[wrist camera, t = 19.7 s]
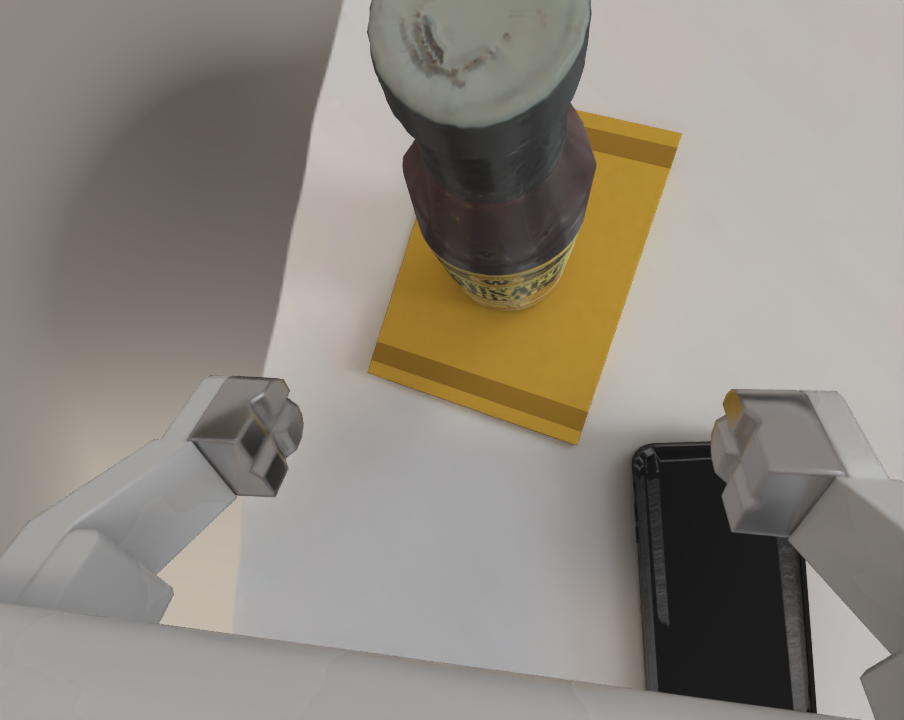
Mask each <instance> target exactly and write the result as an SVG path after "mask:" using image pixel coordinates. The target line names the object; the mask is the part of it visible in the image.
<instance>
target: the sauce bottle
mask: <svg viewBox="0 0 904 720" xmlns="http://www.w3.org/2000/svg"><path fill="white" fill-rule="evenodd" d="M590 20H591V0H372V2H371V5H370V17H369V24H368V31H367V33H368V37H369V42H370V52H371V58H372V62H373V66H374V70H375V73H376V75H377V77H378V80H379V82H380V84H381V86H382V89H383V91H384V94H385V97H386V100H387V102H388V104H389V106H390V108H391V110H392V112H393V114H394V116H395V117H396V118H397V119H398V120H399V121H400V122H401V124H402V125H403V127H404V128H405V129H406V131H407V132H408V133H409V134H410V135H411V136H412V137H414V138H415V140H414V142H413V144H412V145H411V146H410V148H409V149H408V151H407V152H406V153H405V155H404V157H403V173H404V177H405V180H406V184H407V187H408V190H409V194H410V197H411V200H412V204H413V207H414V211H415V214H416V218H417V221H418V224H419V228H420V231H421V233H422V236H423V238H424V240H425V241H426V243H427V244H428V246H429V247H430V249H431V250H432V252H433V253H434V254H435V256H436V257H437V258H438V260H439V261H440V262H441V264H442V265H443V266H444V268H445V269H446V270H447V272H448V273H449V274H450V276H452V278H453V279H454V280H455V281H456V282H457V284H458V285H459V286H460V288H461V289H462V290H463V292H464V293H465V294H466V295H467V296H469V297H470V298H471V299H472V300H474V301H475V302H477V303H478V304H480V305H482V306H484V307H487V308H490V309H494V310H500V311H515V310H521V309H524V308H528V307H531V306H533V305H535V304H536V303H538V302H539V301H541V300H542V299H544V298H545V297H546V296H547V295H548V294H549V293H550V292H551V291H552V290H553V289H554V288H555V286H556V285H557V284H558V282H559V280H560V278H561V276H562V274H563V271H564V269H565V266H566V263H567V261H568V258H569V256H570V254H571V251H572V249H573V246H574V244H575V241H576V238H577V236H578V233H579V231H580V229H581V226H582V224H583V221H584V216H585V212H586V208H587V204H588V200H589V196H590V191H591V187H592V183H593V179H594V175H595V171H596V166H597V163H596V160H595V157H594V154H593V151H592V148H591V144H590V141H589V138H588V135H587V132H586V129H585V127H584V124H583V121H582V120H581V118H580V116H579V115H578V113H577V112H576V110H575V109H574V107H573V106H572V104H571V103H570V102H571V101H572V99H573V97H574V94H575V92H576V89H577V86H578V84H579V81H580V78H581V75H582V72H583V68H584V64H585V56H586V50H587V45H588V37H589V27H590Z"/></svg>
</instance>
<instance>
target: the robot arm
mask: <svg viewBox="0 0 904 720" xmlns="http://www.w3.org/2000/svg"><path fill="white" fill-rule="evenodd" d="M289 392H290V390H289V388H288V386H287V384H286V383H285V381H284V379H278V378H263V377H244V376H243V377H242V376H217V375H216V376H215V375H210V376H209V377H207V378H205V379H203V380H202V381H201V383H200V384H199V386H198V387H197V388H196V390H195V391H194V393H193V394H192V396H191V397H190V398H189V400H188V401H187V403H186V404H185V405H184V407H183V408H182V410H181V411H180V413H179V414H178V416H177V417H176V418H175V420H174V421H173V423H172V424H171V425H170V427H169V428H168V430H167V431H166V433H165V434H164V435H163V437H162V438H161V440H152V441H151V442H149V443H147V444H146V445H144V446H143V447H141V448H140V449H138V450H137V451H135V452H134V453H132V454H131V455H129V456H127V457H126V458H124V459H123V460H121V461H120V462H118V463H117V464H115V465H114V466H112V467H111V468H109V469H107V470H106V471H104V472H103V473H102V474H100V475H98V476H97V477H95V478H94V479H92V480H91V481H89V482H87V483H86V484H84V485H83V486H81V487H80V488H78V489H77V490H75V491H74V492H72V493H71V494H69V495H68V496H66V497H64V498H63V499H62V500H60V501H58V502H57V503H56V504H54V505H52V506H51V507H49V508H48V509H46V510H45V511H43V512H42V513H40V514H39V515H37V516H35V517H34V518H32V519H31V520H29V521H28V522H27V523H26V524H25V526H24V527H23V528H22V529H21V531H20V532H19V533H18V534H17V535H16V537H15V538H14V539H13V540H12V542H11V543H10V544H9V545H8V547H7V548H6V549H5V550H4V551H3V553H2V554H1V555H0V720H859V719H852V718H845V717H837V716H830V715H823V714H815V713H808V712H801V711H793V710H786V709H779V708H771V707H764V706H757V705H749V704H742V703H735V702H727V701H720V700H713V699H705V698H698V697H691V696H683V695H676V694H669V693H661V692H654V691H647V690H639V689H632V688H625V687H617V686H610V685H603V684H595V683H588V682H581V681H573V680H566V679H559V678H551V677H544V676H537V675H529V674H522V673H515V672H507V671H500V670H493V669H485V668H478V667H471V666H463V665H456V664H449V663H441V662H434V661H427V660H419V659H412V658H405V657H397V656H390V655H383V654H375V653H368V652H361V651H353V650H346V649H339V648H331V647H324V646H317V645H309V644H302V643H295V642H287V641H280V640H273V639H265V638H258V637H251V636H244V635H236V634H229V633H222V632H214V631H207V630H200V629H192V628H185V627H178V626H169V625H163V624H159V622H160V621H161V619H162V617H163V615H164V613H165V611H166V609H167V607H168V604H169V603H170V601H171V599H172V597H173V595H174V593H173V589H172V587H171V586H170V585H168V584H167V583H166V582H165V581H163V580H162V579H161V578H159V577H158V576H157V575H156V574H158V572H160V571H161V570H162V569H163V568H164V567H165V566H166V565H167V564H168V563H169V562H170V561H171V560H172V559H173V558H174V557H175V556H176V555H177V554H179V553H180V552H181V551H182V549H184V548H185V547H186V546H187V545H188V544H189V543H190V542H191V541H192V540H193V539H194V538H195V537H196V536H197V535H198V534H199V533H200V532H201V531H202V530H204V529H205V528H206V527H207V526H208V525H209V524H210V523H211V522H212V521H213V520H214V519H215V518H216V517H217V516H218V515H219V514H220V513H221V512H223V511H224V510H225V509H226V508H227V507H228V505H230V504H231V503H232V502H233V501H234V500H235V499H236V498H237V496H236V495H239V496H260V497H276V495H277V493H278V490H279V488H280V486H281V484H282V482H283V479H284V477H285V475H286V473H287V471H288V465H287V461H286V458H287V457H288V456H289V455H291V454H292V453H293V452H295V451H296V450H297V448H298V446H299V443H300V441H301V439H302V433H303V425H304V423H303V417H302V413H301V411H300V409H299V407H298V405H297V404H295V403H294V402H292V401H291V400H290V399H288V398H287V396H288V394H289ZM723 407H724V410H725V413H726V415H724V416H723V417H721V418H719V419H718V420H716V422H715V425H714V428H713V430H712V434H711V447H710V448H711V456H712V462H713V466H714V470H715V473H716V474H717V475H718V476H719V477H720V478H721V479H722V480H723V481H725V482H726V483H727V485H726V487H725V489H724V491H723V494H722V500H723V503H724V507H725V511H726V514H727V518H728V521H729V525H730V528H731V532H737V533H747V534H757V535H767V536H777V537H787V538H789V539H788V541H789V542H790V543H791V544H792V545H793V547H794V548H795V549H796V550H797V551H798V552H799V553H800V554H801V555H802V556H803V558H804V559H805V560H806V561H807V562H808V563H809V564H810V565H811V566H812V568H813V569H814V570H815V571H816V572H817V573H818V574H819V575H820V576H821V577H822V579H823V580H824V581H825V582H826V583H827V584H828V585H829V586H830V587H831V588H832V590H833V591H834V592H835V593H836V594H837V595H838V596H839V597H840V598H841V600H842V601H843V602H844V603H845V604H846V605H847V606H848V607H849V608H850V609H851V611H852V612H853V613H854V614H855V615H856V616H857V617H858V618H859V619H860V620H861V622H862V623H863V624H864V625H865V626H866V627H867V628H868V629H869V630H870V632H871V633H872V634H873V635H874V636H875V637H876V638H877V639H878V640H879V641H880V643H881V644H882V645H883V646H884V647H885V648H886V649H887V650H888V651H889V652H890V654H891V655H890V656H889V657H887V658H886V659H884V660H882V661H881V662H879V663H877V664H876V665H874V666H872V667H871V668H869V669H867V670H866V671H865V672H864V674H863V675H862V676H861V677H860V680H861V683H862V685H863V688H864V691H865V693H866V696H867V699H868V701H869V704H870V707H871V710H872V712H873V715H874V718H875V720H904V481H902V480H893V479H890V478H889V476H888V475H887V473H886V471H885V469H884V468H883V466H882V464H881V462H880V461H879V459H878V457H877V455H876V454H875V452H874V450H873V448H872V447H871V445H870V443H869V441H868V439H867V438H866V436H865V434H864V432H863V431H862V429H861V427H860V425H859V424H858V422H857V420H856V418H855V417H854V415H853V413H852V411H851V410H850V408H849V406H848V404H847V403H846V401H845V399H844V397H843V396H842V395H841V394H839V393H838V392H837V391H805V390H800V391H797V390H759V389H732V390H731V391H729V392H728V393H727V395H726V397H725V399H724V402H723Z"/></svg>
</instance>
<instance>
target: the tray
mask: <svg viewBox="0 0 904 720" xmlns="http://www.w3.org/2000/svg"><path fill="white" fill-rule="evenodd" d="M576 112H577V113H578V115H579V116H580V118H581V120H582V121H583V124H584V127H585V129H586V132H587V135H588V138H589V141H590V144H591V148H592V151H593V154H594V157H595V160H596V163H597V166H596V171H595V175H594V179H593V183H592V187H591V191H590V196H589V200H588V204H587V208H586V212H585V216H584V221H583V224H582V226H581V229H580V231H579V233H578V236H577V238H576V241H575V244H574V246H573V249H572V251H571V254H570V256H569V258H568V261H567V263H566V266H565V269H564V271H563V274H562V276H561V278H560V280H559V282H558V284H557V285H556V286H555V288H554V289H553V290H552V291H551V292H550V293H549V294H548V295H547V296H546V297H545V298H544V299H542V300H541V301H539V302H538V303H536V304H535V305H533V306H531V307H528V308H524V309H521V310H515V311H500V310H494V309H490V308H487V307H484V306H482V305H480V304H478V303H477V302H475V301H474V300H472V299H471V298H470V297H469V296H467V295H466V294H465V293H464V292H463V290H462V289H461V288H460V286H459V285H458V284H457V282H456V281H455V280H454V279H453V278H452V276H450V274H449V273H448V272H447V270H446V269H445V268H444V266H443V265H442V264H441V262H440V261H439V260H438V258H437V257H436V256H435V254H434V253H433V252H432V250H431V249H430V247H429V246H428V244H427V243H426V241H425V240H424V238H423V236H422V233H421V231H420V228H419V224H418V221H417V218H416V221H415V224H414V227H413V230H412V233H411V237H410V240H409V243H408V246H407V249H406V252H405V256H404V259H403V262H402V265H401V268H400V271H399V275H398V278H397V281H396V284H395V287H394V290H393V294H392V297H391V300H390V303H389V306H388V309H387V313H386V316H385V319H384V322H383V325H382V328H381V332H380V335H379V338H378V341H377V344H376V347H375V350H374V353H373V357H372V360H371V363H370V366H369V370H368V373H370V374H373V375H376V376H379V377H382V378H385V379H388V380H390V381H393V382H396V383H399V384H402V385H405V386H408V387H411V388H413V389H416V390H419V391H422V392H425V393H428V394H431V395H433V396H436V397H439V398H442V399H445V400H448V401H451V402H453V403H456V404H459V405H462V406H465V407H468V408H471V409H474V410H476V411H479V412H482V413H485V414H488V415H491V416H494V417H496V418H499V419H502V420H505V421H508V422H511V423H514V424H517V425H519V426H522V427H525V428H528V429H531V430H534V431H537V432H539V433H542V434H545V435H548V436H551V437H554V438H557V439H560V440H562V441H565V442H568V443H571V444H574V445H577V443H578V440H579V437H580V434H581V432H582V429H583V426H584V423H585V420H586V417H587V414H588V411H589V408H590V405H591V402H592V399H593V396H594V393H595V390H596V387H597V384H598V381H599V378H600V375H601V372H602V369H603V366H604V363H605V361H606V358H607V355H608V352H609V349H610V346H611V343H612V340H613V337H614V334H615V331H616V328H617V325H618V322H619V319H620V316H621V313H622V310H623V307H624V304H625V301H626V298H627V295H628V292H629V289H630V287H631V284H632V281H633V278H634V275H635V272H636V269H637V266H638V263H639V260H640V257H641V254H642V251H643V248H644V245H645V242H646V239H647V236H648V233H649V230H650V227H651V224H652V221H653V218H654V216H655V213H656V210H657V207H658V204H659V201H660V198H661V195H662V192H663V189H664V186H665V183H666V180H667V177H668V174H669V171H670V168H671V165H672V162H673V159H674V156H675V153H676V151H677V147H678V144H679V142H680V139H681V136H682V134H681V133H677V132H673V131H668V130H664V129H659V128H655V127H650V126H646V125H641V124H637V123H632V122H628V121H623V120H619V119H614V118H609V117H605V116H600V115H596V114H591V113H587V112H582V111H578V110H576Z"/></svg>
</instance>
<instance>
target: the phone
mask: <svg viewBox="0 0 904 720" xmlns="http://www.w3.org/2000/svg"><path fill="white" fill-rule="evenodd" d="M710 447H711V442H683V443H652V444H646V445H644V446H642V447H641V448H639V449H638V450H637V451H636V453H635V455H634V457H633V461H632V472H633V488H634V502H635V503H634V508H635V521H636V527H635V528H636V542H637V548H638V563H639V578H640V593H641V608H642V623H643V638H644V653H645V669H646V684H647V691H654V692H661V693H669V694H676V695H683V696H691V697H698V698H705V699H713V700H720V701H727V702H735V703H742V704H749V705H757V706H764V707H771V708H779V709H786V710H793V711H801V712H808V713H815V714H817V708H816V695H815V681H814V668H813V655H812V642H811V628H810V615H809V602H808V588H807V575H806V562H805V559H804V558H803V556H802V555H801V554H800V553H799V552H798V551H797V550H796V549H795V548H794V547H793V545H792V544H791V543H790V542H789V541H788V539H789V538H787V537H777V536H767V535H757V534H747V533H737V532H731V528H730V525H729V521H728V518H727V514H726V511H725V507H724V503H723V500H722V494H723V491H724V489H725V487H726V485H727V483H726V482H725V481H723V480H722V479H721V478H720V477H719V476H718V475H717V474H716V473H715V470H714V466H713V462H712V456H711V448H710Z"/></svg>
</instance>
